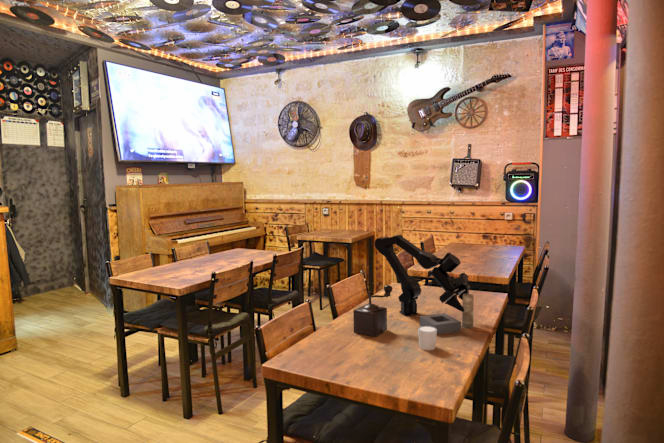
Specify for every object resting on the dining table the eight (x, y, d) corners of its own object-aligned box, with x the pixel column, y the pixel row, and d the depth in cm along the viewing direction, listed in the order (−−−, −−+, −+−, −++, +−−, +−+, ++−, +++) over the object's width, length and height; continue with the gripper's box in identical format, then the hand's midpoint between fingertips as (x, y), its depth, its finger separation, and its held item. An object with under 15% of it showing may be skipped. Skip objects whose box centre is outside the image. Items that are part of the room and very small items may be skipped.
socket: (434, 334, 167) (434, 325, 167) (419, 325, 178) (419, 316, 178) (460, 331, 170) (460, 321, 170) (444, 322, 182) (444, 313, 182)
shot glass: (415, 349, 153) (415, 330, 153) (420, 342, 159) (420, 324, 159) (434, 352, 150) (434, 333, 150) (438, 345, 156) (439, 327, 156)
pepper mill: (376, 337, 165) (376, 292, 163) (352, 332, 171) (352, 289, 170) (394, 326, 178) (394, 284, 176) (372, 321, 184) (371, 281, 182)
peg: (466, 328, 173) (466, 296, 172) (460, 325, 177) (460, 294, 176) (475, 327, 175) (475, 295, 173) (469, 324, 179) (469, 293, 177)
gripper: (446, 271, 170) (472, 302, 164) (465, 264, 184) (490, 292, 178) (428, 287, 176) (453, 318, 170) (448, 279, 190) (472, 307, 184)
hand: (468, 308), depth 175 cm, fingers open, 9 cm apart
